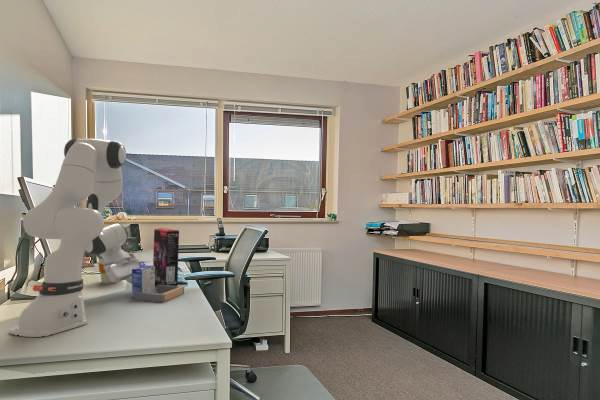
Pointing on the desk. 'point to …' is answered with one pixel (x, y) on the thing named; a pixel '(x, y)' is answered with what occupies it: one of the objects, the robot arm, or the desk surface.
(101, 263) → the reusable coffee cup
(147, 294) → the u-shaped bracket
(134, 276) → the ink cartridge box
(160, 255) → the graphics card box
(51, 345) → the desk surface
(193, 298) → the desk surface
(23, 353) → the desk surface
